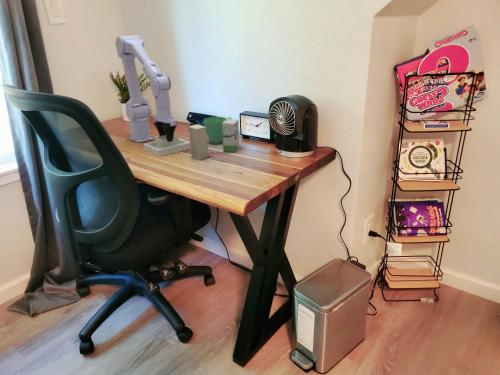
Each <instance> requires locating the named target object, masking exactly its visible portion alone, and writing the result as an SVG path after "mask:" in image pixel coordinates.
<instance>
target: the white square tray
mask: <svg viewBox="0 0 500 375" xmlns="http://www.w3.org/2000/svg"><path fill="white" fill-rule="evenodd" d="M178 140H179V144H177V145H173V146H168V147H164V148H160V147H158V146H156V143H155V141H151V142H147V143H143V150H144V151H146V152H148V153H150V154H152V155H154V156H157V157H163V156H166V155H170V154H173V153H177V152H182V151H185V150H190V149H191V143H190V141H187V140H185V139H183V138H179V137H178Z"/></svg>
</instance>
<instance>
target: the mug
mask: <svg viewBox="0 0 500 375" xmlns="http://www.w3.org/2000/svg"><path fill="white" fill-rule="evenodd" d="M226 119H233V118H232V117H230V116H229V117H224V116H223V117H222V116H211V117H206V118H204V119H203V126H205V127H206V135H207V139H208V140H209V142H210V143H211V144H213V145H215V144H216V145H217V144H221V143H223V129H222V123H223V122H224V121H225V120H226Z"/></svg>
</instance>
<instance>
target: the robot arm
mask: <svg viewBox="0 0 500 375" xmlns="http://www.w3.org/2000/svg"><path fill="white" fill-rule="evenodd" d="M114 44H115V49H116V52H117V55H118V56H117V57H118V58H120V59H121V61H122V67H123V72H124V75H125V80H126V86H127V90H128V94H129V99H128V100H127V101H126V103H125V105H124V106H125V116H126V118H127V119H128V120H129V121H130V122H129V124H128V125H129V134H130V137H128V139H130V140H132V141H134V142H136V143H142V142H143V143H144V142H148V141H151V140H155V137H152V136H151V131H150V123H149V120H151V119H150V118H151V117H152V108H151V105H150V103H149V100H147V99H146V98H144V97H143V96H142V90H141V86H140V80H139V76H138V72H137V67H136V62H135V59H137V60H138V62H140V64H141V65H142V71H143V73H144V74H145V76H146V77H147V80H148V81H150V82H149V87H150V90H151V93H152V95H153V97H154V103H155V112H156V114H155V115H153V121H155V122H153V125H154V127H155V128H156V130H157V132H158V135H159V136H163V135H166V138H167V141H168V142H171V141H173V135H175V130H176V128H177V122H176V120H175V117H174V116H172V112H171V102H170V101H171V100H170V92H169V90H171V88H172V81H171V78H170V76H169V75H167V74H165V73H163V72H162V70H160V68H159V66H158V65H157V63H156V61H151V59H150V57H149V55H148V53H147V51H146V50H145V42H144V39H143V37H142V36H141V35H140V34H136V35H135V34H134V35H133V34H131V35H118V36H117V37H116V39H115V43H114ZM159 136H158V137H159Z"/></svg>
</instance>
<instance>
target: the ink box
mask: <svg viewBox="0 0 500 375" xmlns="http://www.w3.org/2000/svg"><path fill="white" fill-rule="evenodd" d="M239 126H240V125H239V119H237V118H232V119H226V120H225V121H224V122H223V123H222V129H223V140H222V145H223V152H224V153H236V151H237V150H238V148H239V147H240V129H239V128H240V127H239Z"/></svg>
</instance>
